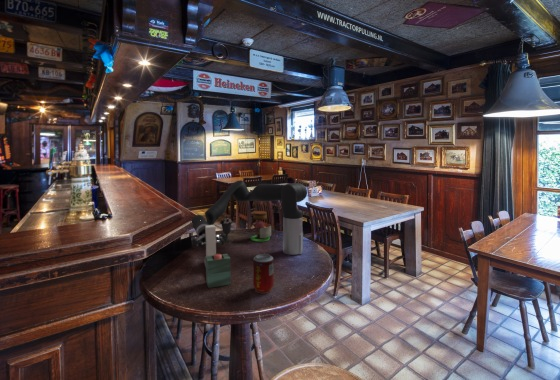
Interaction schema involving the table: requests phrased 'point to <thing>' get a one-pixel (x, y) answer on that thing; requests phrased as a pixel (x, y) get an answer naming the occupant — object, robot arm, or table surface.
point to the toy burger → (261, 227)
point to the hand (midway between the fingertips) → (211, 244)
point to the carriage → (210, 241)
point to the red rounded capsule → (217, 256)
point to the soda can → (263, 273)
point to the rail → (218, 271)
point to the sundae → (226, 226)
